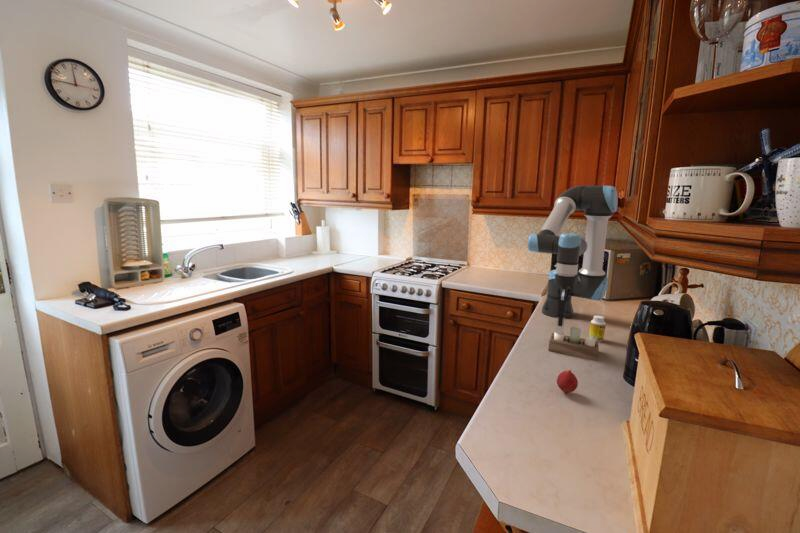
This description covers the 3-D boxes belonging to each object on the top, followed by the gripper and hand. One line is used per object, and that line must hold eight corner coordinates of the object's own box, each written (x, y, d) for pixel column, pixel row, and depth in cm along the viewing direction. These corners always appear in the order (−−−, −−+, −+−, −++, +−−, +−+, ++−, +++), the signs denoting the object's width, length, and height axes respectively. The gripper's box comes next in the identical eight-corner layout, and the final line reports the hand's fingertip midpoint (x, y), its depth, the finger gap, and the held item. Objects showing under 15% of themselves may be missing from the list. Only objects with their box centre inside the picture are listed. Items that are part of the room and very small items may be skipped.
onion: (551, 391, 116) (554, 367, 114) (562, 386, 119) (565, 363, 118) (569, 400, 111) (572, 375, 110) (580, 394, 115) (583, 370, 113)
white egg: (583, 349, 147) (585, 336, 146) (593, 351, 146) (595, 338, 145) (583, 352, 144) (585, 339, 143) (593, 354, 143) (595, 341, 142)
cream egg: (553, 343, 152) (554, 331, 151) (563, 345, 151) (564, 332, 150) (552, 346, 149) (554, 334, 148) (562, 348, 148) (563, 335, 147)
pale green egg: (569, 339, 149) (570, 326, 148) (579, 341, 148) (580, 328, 147) (568, 342, 146) (570, 329, 145) (578, 344, 145) (580, 331, 144)
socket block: (551, 342, 156) (552, 333, 155) (597, 350, 148) (598, 341, 148) (548, 350, 147) (549, 341, 146) (597, 360, 140) (598, 350, 139)
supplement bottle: (598, 343, 156) (601, 319, 154) (585, 339, 161) (588, 316, 159) (606, 340, 159) (609, 317, 157) (593, 336, 164) (596, 314, 162)
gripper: (557, 270, 152) (550, 326, 156) (553, 276, 140) (547, 336, 145) (577, 272, 149) (570, 329, 153) (575, 278, 137) (568, 340, 142)
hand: (559, 332), depth 149 cm, fingers closed
